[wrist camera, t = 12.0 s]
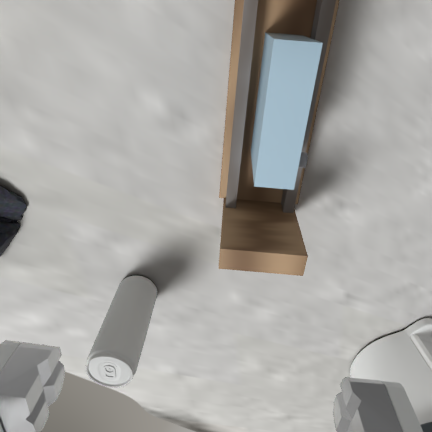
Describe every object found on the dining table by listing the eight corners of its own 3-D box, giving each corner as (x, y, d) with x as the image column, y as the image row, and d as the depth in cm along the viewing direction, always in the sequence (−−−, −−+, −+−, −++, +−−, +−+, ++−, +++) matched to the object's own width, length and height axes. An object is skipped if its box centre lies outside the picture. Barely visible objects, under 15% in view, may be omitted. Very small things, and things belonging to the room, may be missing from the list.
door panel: (314, 36, 29) (339, 44, 22) (292, 154, 34) (307, 190, 27) (265, 32, 29) (274, 39, 22) (250, 150, 34) (254, 186, 27)
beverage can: (158, 275, 43) (133, 358, 33) (158, 304, 46) (134, 391, 35) (119, 270, 43) (81, 353, 33) (120, 300, 46) (86, 385, 35)
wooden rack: (349, -66, 26) (404, -104, 18) (292, 216, 38) (308, 276, 30) (241, -74, 26) (242, -116, 18) (218, 210, 38) (212, 268, 30)
